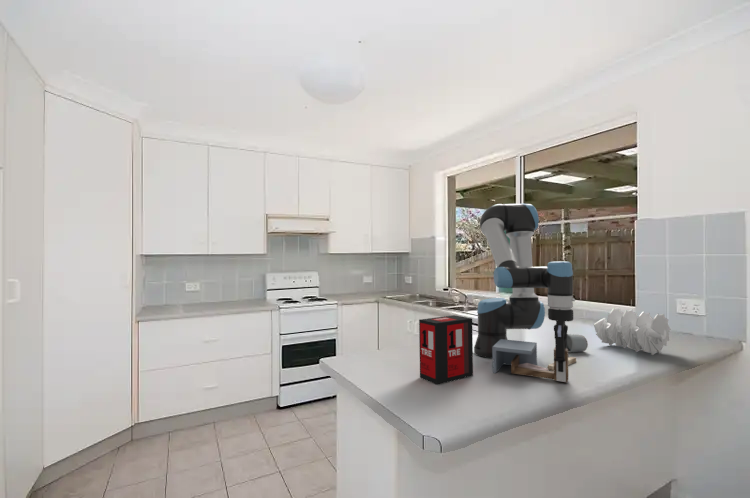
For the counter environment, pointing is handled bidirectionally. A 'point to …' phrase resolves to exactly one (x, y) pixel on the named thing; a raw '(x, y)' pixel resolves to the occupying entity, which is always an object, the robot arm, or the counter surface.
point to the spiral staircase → (634, 330)
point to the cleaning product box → (446, 348)
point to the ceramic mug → (576, 343)
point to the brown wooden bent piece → (536, 372)
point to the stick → (570, 361)
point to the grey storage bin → (513, 353)
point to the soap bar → (532, 366)
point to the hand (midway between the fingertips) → (561, 378)
